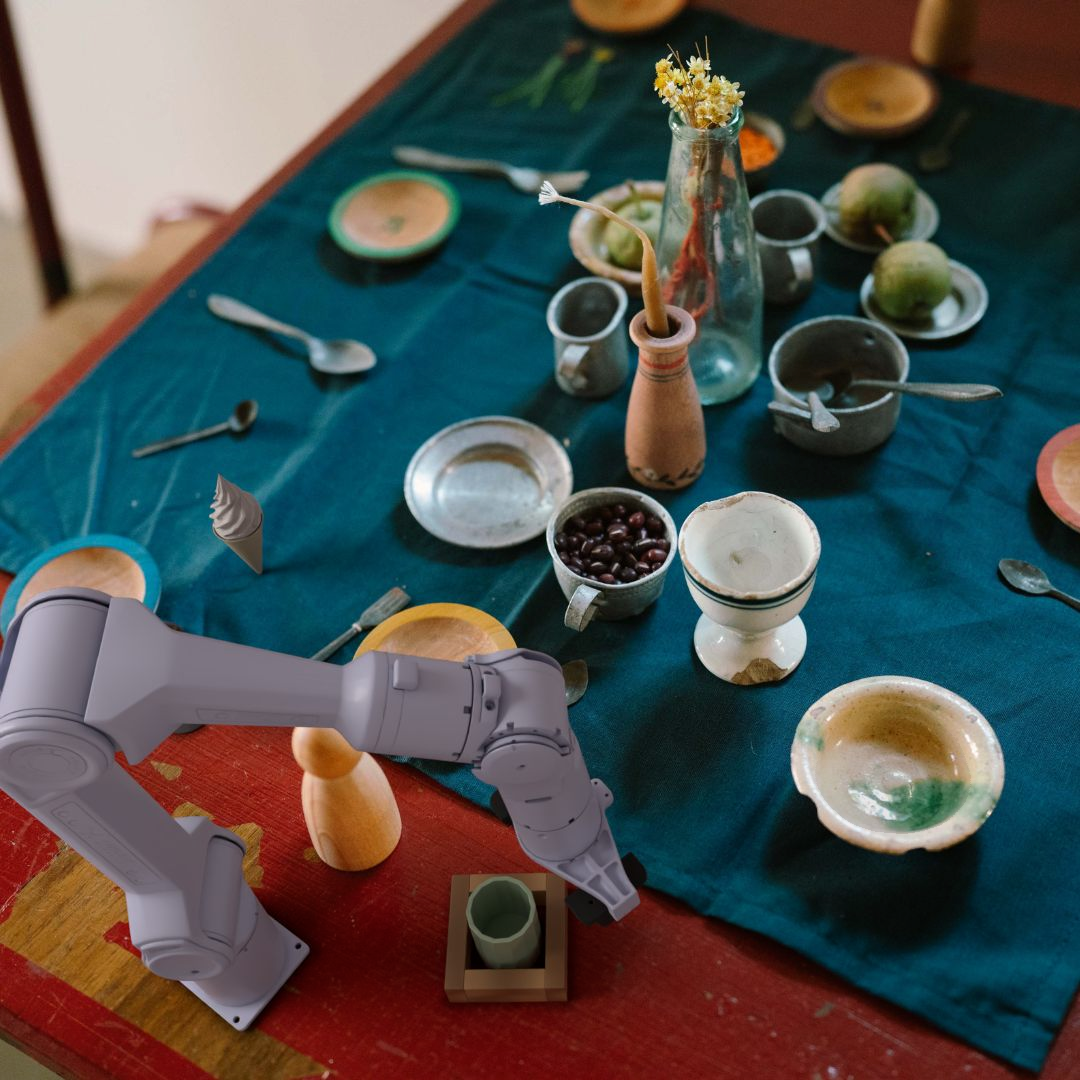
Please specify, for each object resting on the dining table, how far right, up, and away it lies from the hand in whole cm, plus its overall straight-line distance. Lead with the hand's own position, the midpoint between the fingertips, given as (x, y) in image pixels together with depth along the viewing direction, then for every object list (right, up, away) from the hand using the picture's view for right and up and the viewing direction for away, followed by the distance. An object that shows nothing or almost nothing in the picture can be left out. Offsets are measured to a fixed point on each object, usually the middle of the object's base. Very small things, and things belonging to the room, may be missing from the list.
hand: (581, 876), depth 86 cm
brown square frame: (-5, -8, +8) cm, 12 cm away
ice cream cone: (-32, +21, +35) cm, 52 cm away
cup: (-5, -8, +8) cm, 12 cm away
